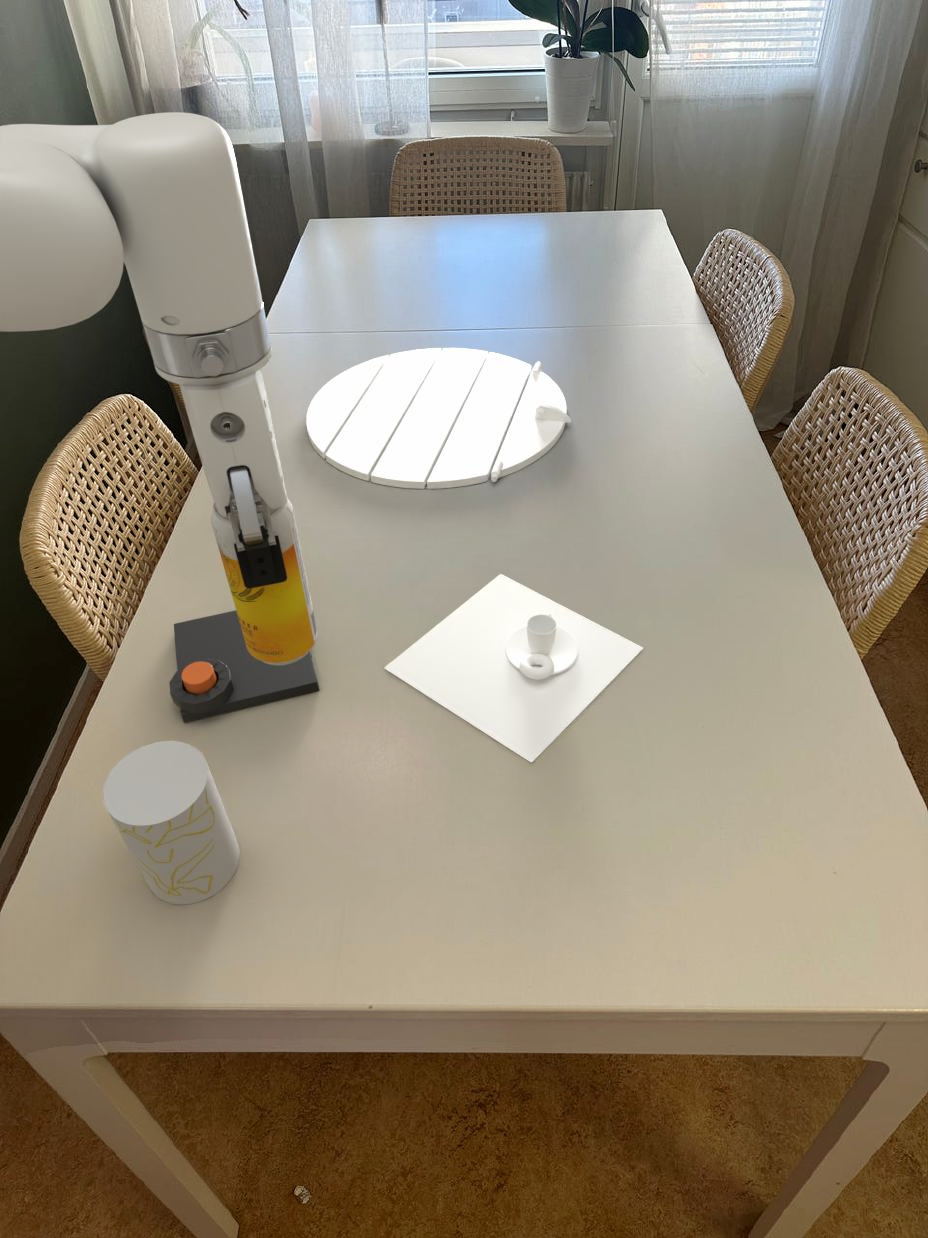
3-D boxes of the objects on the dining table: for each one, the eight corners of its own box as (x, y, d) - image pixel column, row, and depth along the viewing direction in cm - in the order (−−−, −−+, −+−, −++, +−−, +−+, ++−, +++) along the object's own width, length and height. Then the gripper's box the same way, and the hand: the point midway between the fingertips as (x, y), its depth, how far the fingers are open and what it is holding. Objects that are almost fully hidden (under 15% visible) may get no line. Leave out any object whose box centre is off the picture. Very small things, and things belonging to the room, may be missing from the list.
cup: (146, 915, 73) (101, 837, 65) (146, 835, 79) (104, 754, 71) (243, 890, 75) (211, 810, 66) (235, 813, 80) (205, 731, 72)
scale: (179, 728, 88) (171, 709, 86) (171, 633, 98) (164, 614, 96) (320, 694, 91) (315, 675, 89) (299, 605, 101) (294, 586, 99)
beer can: (244, 628, 76) (204, 486, 66) (313, 614, 77) (284, 472, 67) (252, 676, 72) (210, 533, 62) (324, 660, 73) (295, 516, 63)
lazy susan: (589, 365, 141) (590, 345, 139) (546, 505, 114) (547, 483, 111) (357, 345, 149) (355, 326, 147) (265, 471, 122) (260, 450, 119)
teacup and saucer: (544, 694, 90) (545, 667, 87) (485, 659, 94) (484, 632, 91) (592, 647, 94) (595, 620, 92) (534, 616, 98) (535, 589, 95)
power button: (186, 697, 88) (182, 687, 86) (184, 675, 90) (180, 665, 89) (217, 690, 88) (214, 679, 87) (215, 668, 90) (211, 658, 89)
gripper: (284, 391, 50) (326, 618, 62) (254, 278, 62) (295, 487, 75) (151, 412, 49) (221, 639, 61) (147, 293, 61) (206, 502, 73)
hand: (261, 553), depth 68 cm, fingers closed on beer can, 6 cm apart
